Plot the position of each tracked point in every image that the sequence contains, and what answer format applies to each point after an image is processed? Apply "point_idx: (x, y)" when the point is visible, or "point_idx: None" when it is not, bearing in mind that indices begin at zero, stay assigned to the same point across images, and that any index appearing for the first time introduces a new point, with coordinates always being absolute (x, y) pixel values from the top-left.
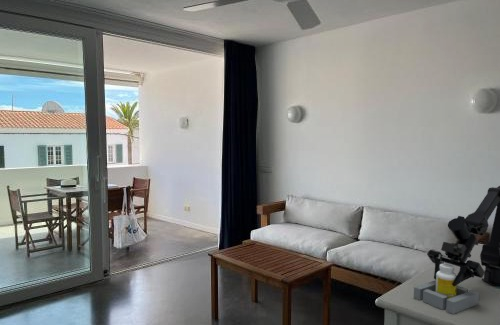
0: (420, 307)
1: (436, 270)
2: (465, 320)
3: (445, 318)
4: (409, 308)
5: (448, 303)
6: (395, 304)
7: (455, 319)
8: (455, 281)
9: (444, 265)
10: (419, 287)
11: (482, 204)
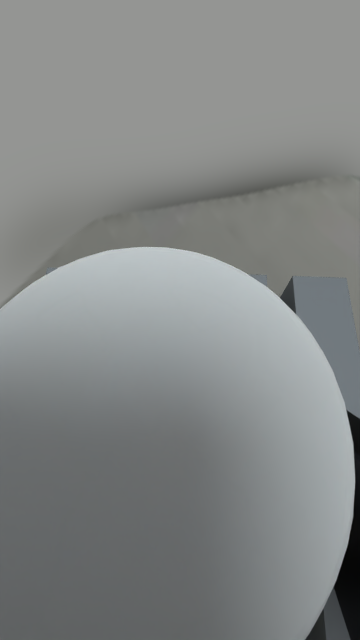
0: (214, 245)
1: (358, 440)
2: (17, 289)
3: (88, 240)
4: (235, 203)
5: None
6: (295, 189)
7: (53, 264)
8: None
9: (187, 374)
10: (321, 301)
11: None
